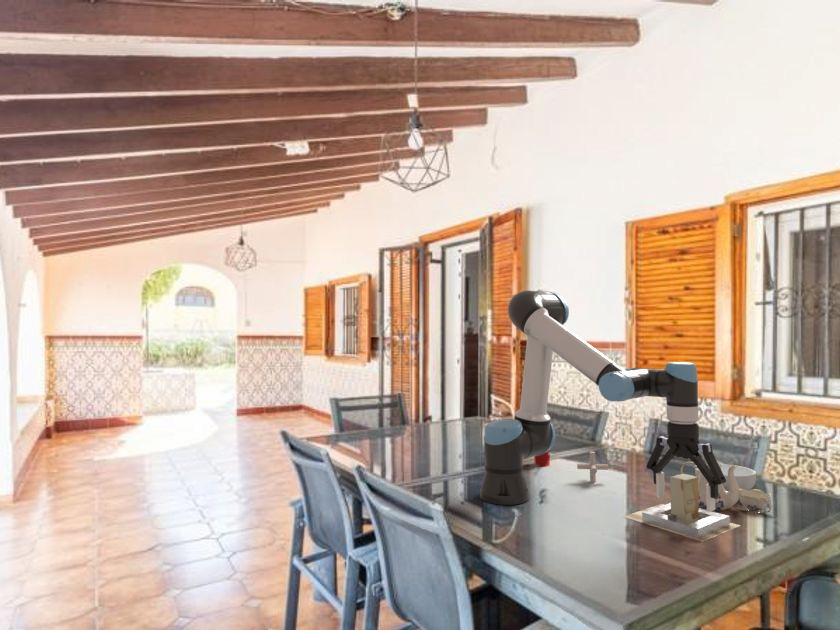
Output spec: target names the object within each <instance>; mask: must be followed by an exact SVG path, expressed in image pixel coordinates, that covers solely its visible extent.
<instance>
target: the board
mask: <svg viewBox="0 0 840 630" xmlns="http://www.w3.org/2000/svg"><path fill="white" fill-rule="evenodd" d="M662 505H665V504H664V503H660V504H657V505H654V506H651V507H648V508H644V509H642V510H639V511H635V512H632V513H630V514H627V515H623V516H622V517H623V518H626V519H629V520H633V521H636V522H638V523H643V524H645V525H649V526H651V527H655V528H658V529H661V530H664V531H666V532H667V531H668V532H670V533H673V534H674V533H675V534H677V535H680V536H683V537H687V538H689V539H693V540H696V541H699V542H706V541H709V540H711V539H713V538H716V537H718V536H720V535H722V534H725V533H728V532H730V531H731V530H735V529H737V528H739V527H741V526H742V525H740V524H736V523H734V522H730V526H728V527H726V528H724V529H721V530H719V531H717V532H714V533H712V534H709V535H707V536H705V537H702V538H700V539H696V538H693V537H689V536H686V535H683V534H680V533H677V532H674V531H670V530H667V529H664V528H661V527H658V526H654V525H651V524H648V523H645V522H642V512H644V511H647V510H650V509H653V508H656V507H659V506H662Z"/></svg>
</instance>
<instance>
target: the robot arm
mask: <svg viewBox="0 0 840 630" xmlns="http://www.w3.org/2000/svg"><path fill="white" fill-rule="evenodd" d="M507 313H508V317H509V318H508V319H509V320H510V321H511V323H512V324H513V325H514V327H516V328H517V329H518V330H519V331H520V332H522V333H523V334H524V335H525V336H526V346H525V357H524V364H523V365H524V367H523V376H522V386H521V397H520V405H519V409H517V410H516V411H515V412H514V417H513V419H512V418H504V419H496V420H492V421H491V422H488V423H487V424H486V425H485V427H484V435H483V441H484V471H485V472H484V475H483V479H482V482H481V487H480V488H479V499H480V500H482V501H483V500H484V501H483V502H485V501H486V503H488V502H489V503H490V504H492V503H493V505H500V506H509V505H510V506H512V505H520V504H523V503H526V502H528V501H529V499H530V490H529V488H528V485H527V481H526V479H525V476H524V469H523V467H524V465H523V461H524V460H526V459H530V458H533V457H534V456H539V455H542V454H544V453H546V452H547V451H549V450H550V451H551V449H552V448H553V446H554V444H555V441H556V431H555V428H554V427H553V426H554V425H553V423H551V419H552V418H551V416H550V415H549V413H548V412H547V409H548V401H549V393H550V392H549V391H550V382H551V374H552V373H551V372H552V364H553V355H554V353H555V354H556V355H557V356H559V357H560V358H561V359H563V360H564V361H565V362H566V363H568V364H569V365H570V366H572V367H573V368H574V369H576V370H577V371H578V372H580V373H581V374H582V375H583V376H585V377H586V378H588V379H589V380H590V381H591V382H593V383H594V384H595V385H596V386H597V387H598V390H599V393H600V394H601V396H602V397H603V398H604V399H606V400H607V401H610V402H619V403H620V402H626V401H627V400H628V401H629V400H632V399H638V398H639V399H640V398H643V397H656V398H665V400H666V401H665V402H666V420H667V423H666V434H667V437H666V436H665V435H663V436H662V435H661V436H657V437H656V442H655V447H653V451H652V453H651V454H650V457H649V459H648V461H647V463H646V469H648V470H650V471H652V472H653V484H654V485H656V487H655V489H656V491H655V492H656V499H661V498H665V497H666V489H665V487H666V486H665V485H666V484H665V478H666V477H665V472H663V470H664V468H665V467H666V466H667V465H668V464H669V463H670V462H671V461H672V460H673V458H674V457H676V458H683V459H685V460H690V462H694V464H693V465H694V466H695V465H696V466H697V468H698V469H699V470H700V472H701V473H702V475H703V476H704V477H705V479H706V480H707V481H708V483H709V484H707V485H706V504H707V509H706V510H707V511H709V512H710V511H712V512H714V511H716V510H715V498H717V497H718V485H719V484H723V483H725V482H726V479H725V477H724V475H723V473H722V471H721V469H720V467H719V465H718V462H717V461H718V460H717V458H716V456H715V454H714V452H713V446H712V444H711V443H708V442H707V443H701V442H700V441H699V440H700V439H699V437H700V424H699V422H698V421H699V395H698V394H699V392H698V391H699V389H698V388H699V387H698V386H699V385H698V384H699V378H698V371H697V370H698V369H697V365H696V364H695V363H693V362H685V361H684V362H681V361H680V362H677V361H673V362H671V361H669V362H667V363H665V368H664V369H662V368H661V369H660V368H659V369H657V368H643V367H642V368H640V367H631V368H630V367H627V368H625V369H624V368H622V367H621V366H619V365H618V364H617V363H615V362H614V361H612V360H611V359H610V358H608V357H607V356H606V355H604V354H603V353H602V352H600V351H599V350H597V349H596V348H595V347H593V346H592V345H591V344H589V343H588V342H586V341H585V340H583V339H582V338H581V337H580V336H578V335H577V334H575V333H574V332H572V331H571V330H569V328H567V327H566V326H564V325H565V323H567V321H568V320H569V319H568V318H569V315H570V308H569V305H568V303H567V301H566V300H565V298H564V297H563V296H562V295H560V294H559V293H556V292H552V291H548V290H547V291H542V290H541V291H540V290H522V291H519V292H517V293H516V294H514V295H513V297H512V298H511V299H510V300H509V303H508V306H507ZM666 445H667V446H668V448H669V449H668V450H667V451H666V452H665V454H664V456H663V457H661V455H662V454H663V452H664V449H665V447H666ZM699 450H700V452H701V453H702V454H703V456H702V455H701V453H700V452H699ZM704 457H705V460H706V462H707V464H708V466H709V467H708V466H707V464H706V463H705V462H704V460H703V458H704ZM660 458H661V459H660Z"/></svg>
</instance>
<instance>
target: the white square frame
mask: <svg viewBox="0 0 840 630" xmlns="http://www.w3.org/2000/svg"><path fill="white" fill-rule="evenodd" d="M642 522H645V523H648V524H651V525H654V526H658V527H661V528H664V529H667V530H670V531H674V532H677V533H680V534H683V535H686V536H689V537H693V538H696V539H700V538H702V537H705V536H707V535H709V534H712V533H714V532H717V531H719V530H721V529H724V528H726V527H728V526H730V523H731V519H730V515H726V514H723V513H719V512H716V511H710V512H709V511H707V509H703V508H700V507H699V520H698V521H696V522H693V523H692V522H689V521H685V520H682V519H678V518H677V515H674V514H671V502H669V503H665V504H664V505H662V506H659V507H656V508H653V509H650V510H647V511H644V512H642ZM642 522H641V523H642ZM645 523H644V524H645ZM648 524H647V525H648ZM651 525H650V526H651ZM654 526H653V527H654ZM658 527H657V528H658ZM661 528H660V529H661ZM664 529H663V530H664ZM667 530H666V531H667ZM670 531H669V532H670ZM674 532H673V533H674ZM677 533H676V534H677ZM680 534H679V535H680ZM683 535H682V536H683ZM686 536H685V537H686ZM689 537H688V538H689ZM693 538H692V539H693ZM696 539H695V540H696Z"/></svg>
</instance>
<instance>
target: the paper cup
mask: <svg viewBox="0 0 840 630" xmlns="http://www.w3.org/2000/svg"><path fill="white" fill-rule="evenodd" d="M533 460H534V466H537V465H538V466H537V467H549V466H550V462H551V449H550V450H549V451H547V452H546V453H544V454H542V455H539V456H534V459H533ZM548 465H549V466H548Z"/></svg>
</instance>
